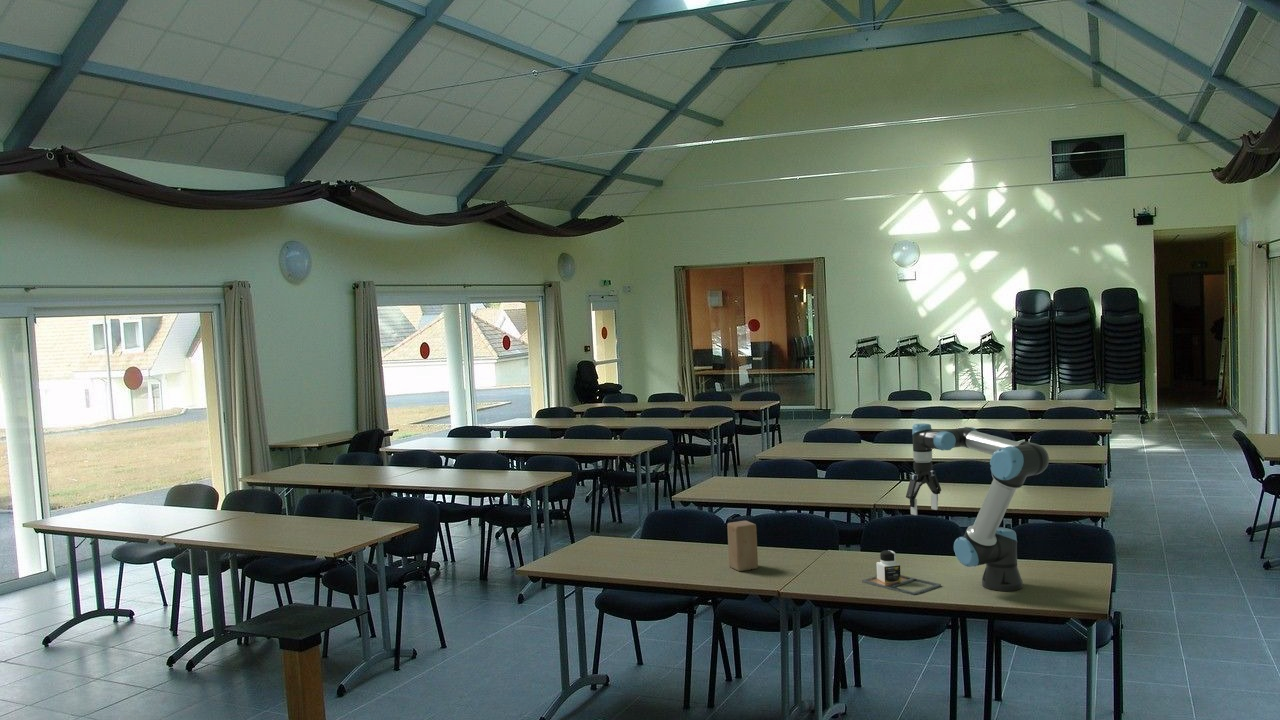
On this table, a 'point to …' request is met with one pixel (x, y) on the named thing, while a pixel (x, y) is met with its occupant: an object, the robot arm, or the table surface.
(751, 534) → the wooden block
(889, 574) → the medicine bottle
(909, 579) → the grey divided frame
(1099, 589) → the table surface
